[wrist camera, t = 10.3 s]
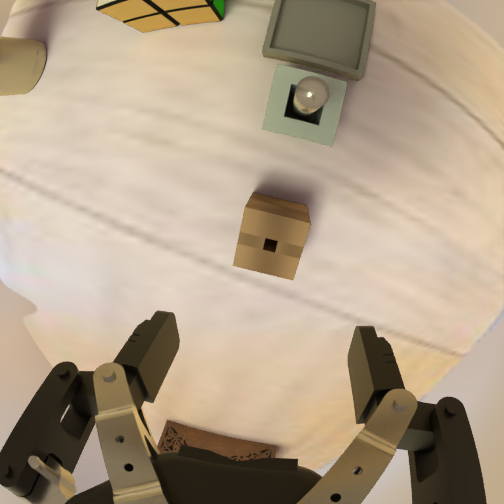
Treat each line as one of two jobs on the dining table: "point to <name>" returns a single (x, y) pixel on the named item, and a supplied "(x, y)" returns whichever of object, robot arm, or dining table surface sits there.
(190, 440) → the tissue box cover
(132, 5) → the puzzle cube
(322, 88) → the cylinder
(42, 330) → the dining table surface
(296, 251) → the brown cardboard cube
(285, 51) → the tray
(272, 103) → the slate block
